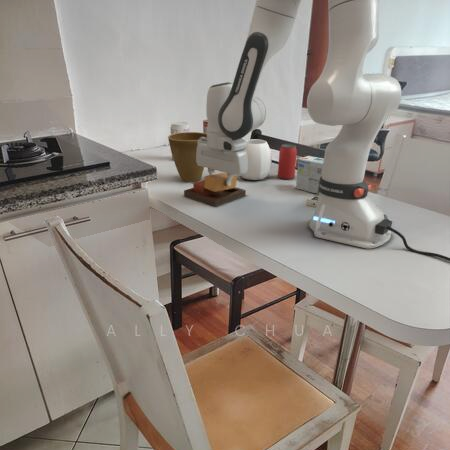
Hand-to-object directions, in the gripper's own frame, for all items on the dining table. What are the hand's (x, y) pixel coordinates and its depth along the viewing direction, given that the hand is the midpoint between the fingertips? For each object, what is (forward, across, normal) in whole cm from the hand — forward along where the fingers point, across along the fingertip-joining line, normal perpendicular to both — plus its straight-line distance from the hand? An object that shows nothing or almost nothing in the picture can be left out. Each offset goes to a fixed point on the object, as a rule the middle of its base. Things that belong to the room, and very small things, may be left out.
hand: (220, 183), depth 137 cm
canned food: (+5, -58, +55) cm, 80 cm away
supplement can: (+5, -49, +27) cm, 56 cm away
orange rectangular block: (+1, 0, 0) cm, 1 cm away
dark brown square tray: (+5, -3, 0) cm, 6 cm away
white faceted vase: (+5, -7, +27) cm, 28 cm away
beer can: (+5, +2, +36) cm, 36 cm away
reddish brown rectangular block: (+4, -6, 0) cm, 7 cm away
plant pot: (+5, -23, +8) cm, 25 cm away
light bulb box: (+5, +18, +30) cm, 35 cm away
